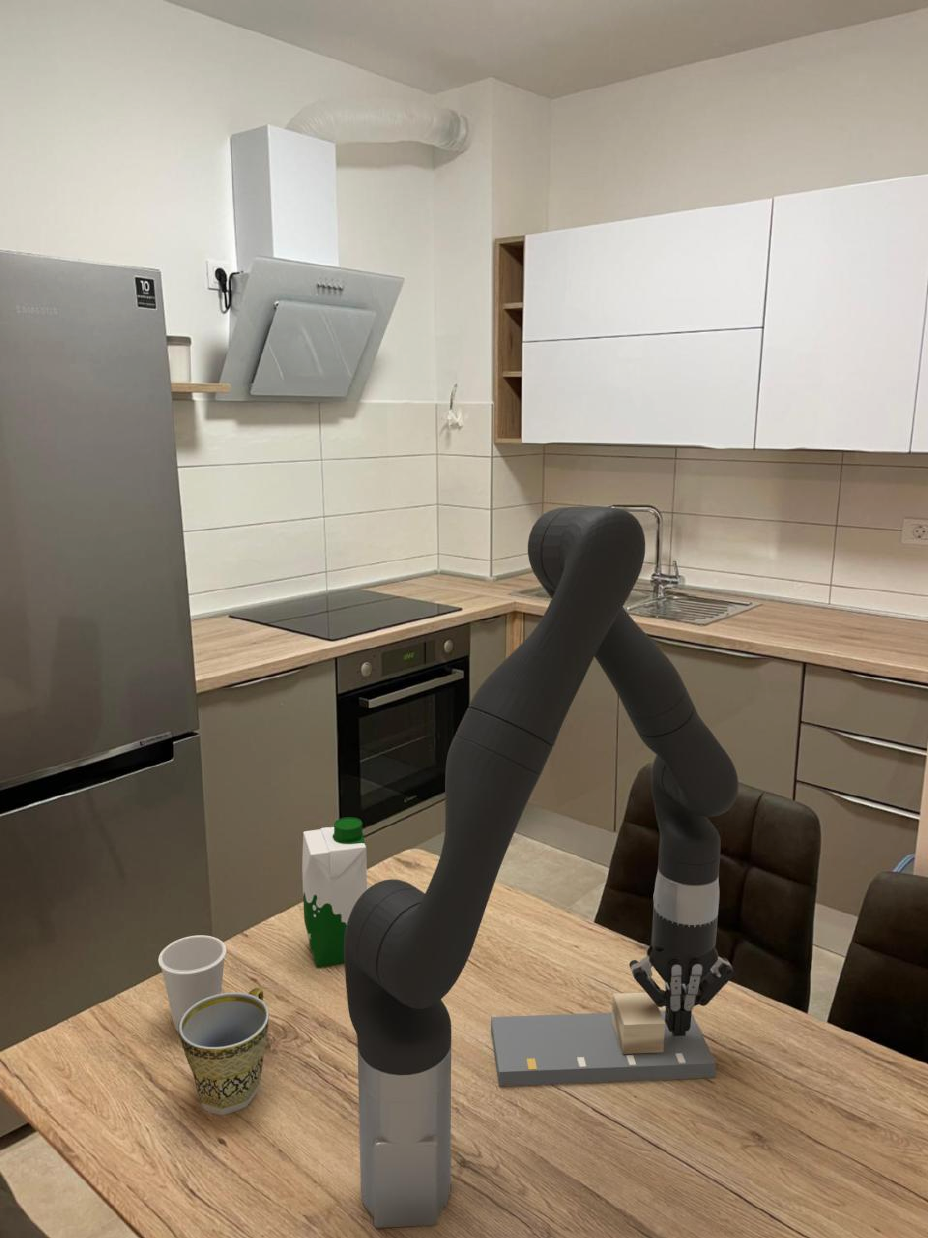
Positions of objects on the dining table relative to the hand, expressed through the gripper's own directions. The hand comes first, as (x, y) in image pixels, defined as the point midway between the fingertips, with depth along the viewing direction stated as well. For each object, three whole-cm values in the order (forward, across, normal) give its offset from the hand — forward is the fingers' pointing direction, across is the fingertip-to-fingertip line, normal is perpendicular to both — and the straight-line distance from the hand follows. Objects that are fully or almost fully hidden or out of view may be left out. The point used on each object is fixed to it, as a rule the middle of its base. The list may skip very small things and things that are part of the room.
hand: (677, 1031), depth 115 cm
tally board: (+3, -10, 0) cm, 10 cm away
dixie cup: (+3, -61, +9) cm, 61 cm away
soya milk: (+3, -44, +24) cm, 50 cm away
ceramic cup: (+3, -54, -3) cm, 54 cm away
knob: (+1, -5, 0) cm, 5 cm away
